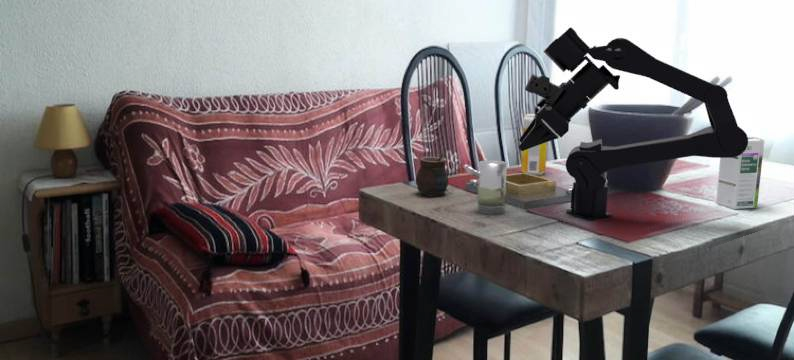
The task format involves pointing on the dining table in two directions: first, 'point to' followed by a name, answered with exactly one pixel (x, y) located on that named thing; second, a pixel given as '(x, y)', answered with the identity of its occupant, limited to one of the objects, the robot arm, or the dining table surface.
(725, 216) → the dining table surface
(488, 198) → the glass mug
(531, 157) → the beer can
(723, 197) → the syrup box
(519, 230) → the dining table surface
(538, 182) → the grey plate with frame
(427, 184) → the mate gourd
